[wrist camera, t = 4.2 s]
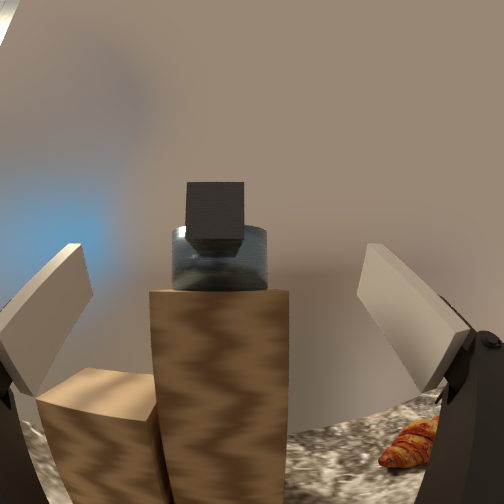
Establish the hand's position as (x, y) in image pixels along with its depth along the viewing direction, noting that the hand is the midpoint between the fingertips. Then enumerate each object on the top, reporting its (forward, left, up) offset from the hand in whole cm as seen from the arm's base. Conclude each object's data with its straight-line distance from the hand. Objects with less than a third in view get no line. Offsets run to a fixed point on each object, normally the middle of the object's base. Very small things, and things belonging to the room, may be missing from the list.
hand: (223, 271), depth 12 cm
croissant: (+33, +20, -32) cm, 50 cm away
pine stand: (-7, +18, -31) cm, 37 cm away
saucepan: (0, +12, -1) cm, 12 cm away
